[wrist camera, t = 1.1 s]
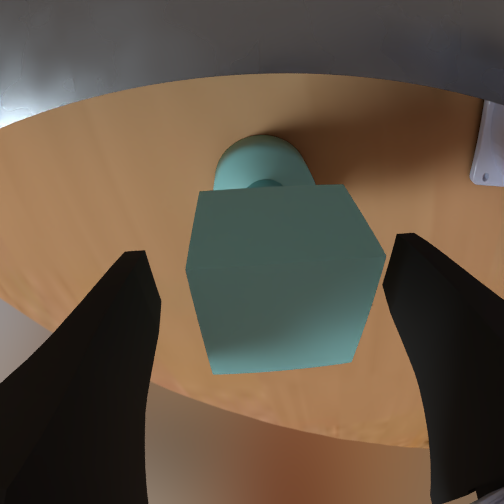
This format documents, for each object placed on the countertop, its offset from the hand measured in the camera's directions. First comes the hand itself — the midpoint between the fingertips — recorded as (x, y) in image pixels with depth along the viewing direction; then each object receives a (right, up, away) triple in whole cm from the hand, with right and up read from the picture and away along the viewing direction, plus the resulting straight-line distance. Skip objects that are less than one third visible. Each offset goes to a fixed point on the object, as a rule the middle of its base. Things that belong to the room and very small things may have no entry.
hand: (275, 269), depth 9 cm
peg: (0, +4, +5) cm, 6 cm away
